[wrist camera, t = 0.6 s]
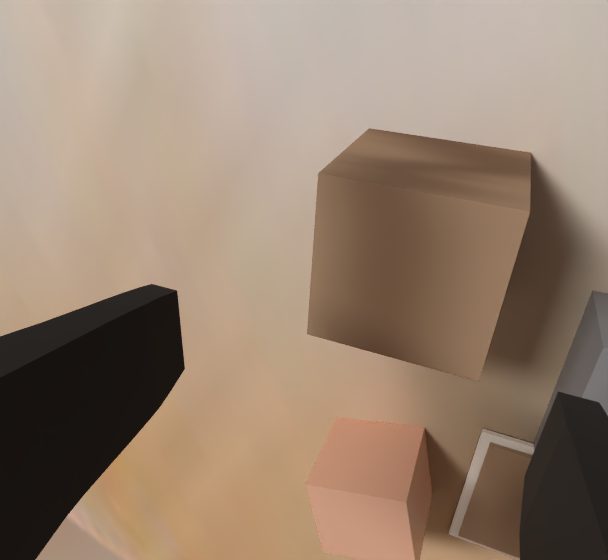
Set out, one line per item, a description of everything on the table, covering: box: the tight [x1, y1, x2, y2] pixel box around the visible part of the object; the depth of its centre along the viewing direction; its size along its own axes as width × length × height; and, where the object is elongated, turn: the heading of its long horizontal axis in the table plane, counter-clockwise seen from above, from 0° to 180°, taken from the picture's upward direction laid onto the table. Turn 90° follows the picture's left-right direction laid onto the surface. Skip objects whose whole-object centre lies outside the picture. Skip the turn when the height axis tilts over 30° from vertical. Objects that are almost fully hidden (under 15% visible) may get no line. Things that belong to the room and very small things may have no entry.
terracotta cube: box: [306, 417, 432, 560], centre depth 22 cm, size 4×4×4 cm
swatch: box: [449, 429, 534, 560], centre depth 21 cm, size 7×7×1 cm
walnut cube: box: [307, 129, 531, 381], centre depth 15 cm, size 5×5×5 cm
